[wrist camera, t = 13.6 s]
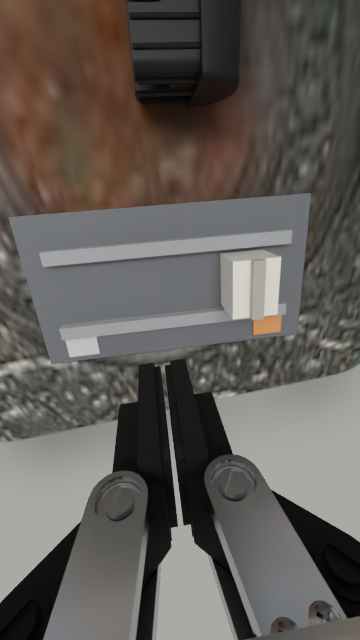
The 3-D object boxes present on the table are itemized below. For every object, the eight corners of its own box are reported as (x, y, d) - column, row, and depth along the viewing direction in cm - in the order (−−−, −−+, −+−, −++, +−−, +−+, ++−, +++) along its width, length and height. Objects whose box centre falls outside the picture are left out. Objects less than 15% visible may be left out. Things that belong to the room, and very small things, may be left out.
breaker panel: (15, 216, 24) (2, 217, 22) (302, 193, 27) (317, 192, 24) (55, 356, 30) (48, 369, 28) (290, 328, 32) (301, 337, 30)
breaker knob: (220, 253, 26) (235, 263, 22) (262, 249, 26) (284, 258, 22) (220, 304, 28) (234, 322, 24) (260, 299, 28) (280, 317, 24)
